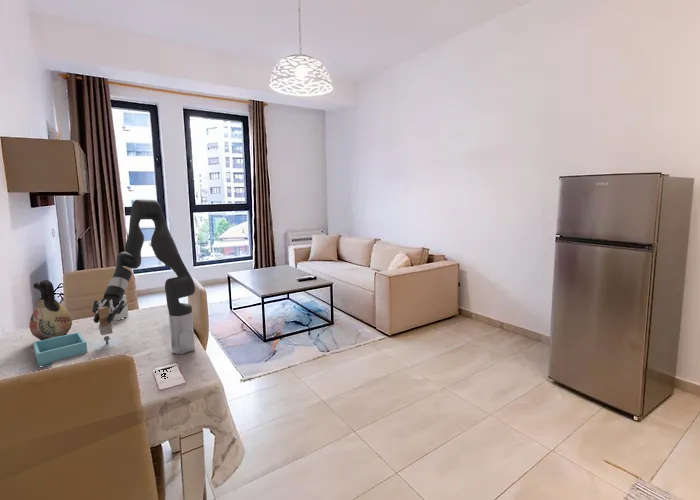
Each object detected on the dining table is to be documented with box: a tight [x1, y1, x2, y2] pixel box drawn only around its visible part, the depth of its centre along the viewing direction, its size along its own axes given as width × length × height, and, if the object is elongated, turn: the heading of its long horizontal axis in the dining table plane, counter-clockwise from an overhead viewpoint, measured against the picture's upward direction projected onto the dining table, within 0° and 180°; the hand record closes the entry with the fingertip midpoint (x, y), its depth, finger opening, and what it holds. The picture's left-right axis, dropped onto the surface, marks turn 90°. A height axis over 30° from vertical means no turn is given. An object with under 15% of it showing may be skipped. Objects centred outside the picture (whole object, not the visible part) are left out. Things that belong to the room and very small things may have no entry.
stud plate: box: [91, 335, 124, 351], centre depth 160 cm, size 10×10×5 cm
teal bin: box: [32, 331, 88, 368], centre depth 151 cm, size 16×16×6 cm
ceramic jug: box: [28, 279, 73, 341], centre depth 165 cm, size 17×15×30 cm
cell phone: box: [152, 362, 179, 379], centre depth 134 cm, size 9×18×1 cm, turn 36°
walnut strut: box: [98, 306, 113, 336], centre depth 158 cm, size 4×4×12 cm
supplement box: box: [109, 294, 129, 321], centre depth 196 cm, size 7×7×13 cm
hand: (102, 322), depth 157 cm, fingers closed on walnut strut, 5 cm apart
